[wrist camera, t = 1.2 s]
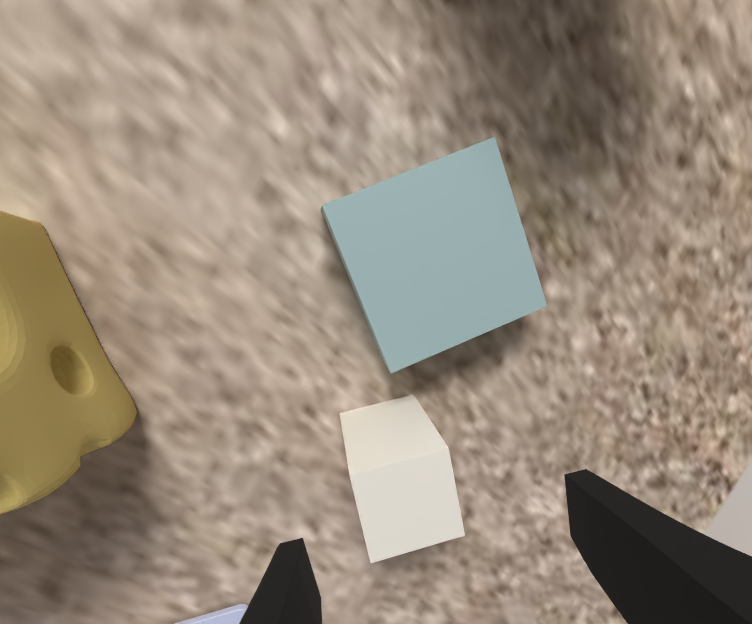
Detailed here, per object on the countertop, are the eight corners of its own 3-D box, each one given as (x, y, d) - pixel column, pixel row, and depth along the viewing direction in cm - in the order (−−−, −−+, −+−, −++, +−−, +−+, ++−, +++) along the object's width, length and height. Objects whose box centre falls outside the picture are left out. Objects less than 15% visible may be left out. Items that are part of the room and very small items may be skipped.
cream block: (426, 461, 24) (464, 535, 18) (355, 481, 23) (370, 563, 17) (413, 394, 23) (448, 448, 17) (339, 413, 22) (349, 475, 17)
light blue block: (517, 297, 23) (547, 306, 20) (380, 355, 23) (390, 373, 20) (469, 150, 21) (494, 136, 19) (320, 209, 21) (321, 205, 18)
